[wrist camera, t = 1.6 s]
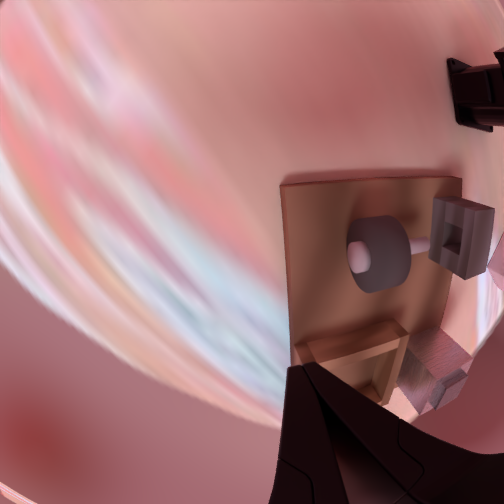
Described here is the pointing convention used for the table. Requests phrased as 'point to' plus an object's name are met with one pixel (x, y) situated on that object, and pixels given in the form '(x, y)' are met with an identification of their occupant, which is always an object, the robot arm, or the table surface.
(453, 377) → the block
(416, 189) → the frame
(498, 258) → the milk
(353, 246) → the wheel
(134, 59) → the table surface
